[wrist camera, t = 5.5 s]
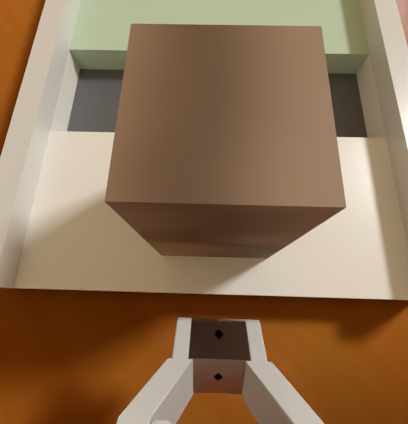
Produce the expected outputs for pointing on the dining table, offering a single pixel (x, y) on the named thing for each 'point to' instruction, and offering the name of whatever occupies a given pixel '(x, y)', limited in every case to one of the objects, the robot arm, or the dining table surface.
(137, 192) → the walnut block
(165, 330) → the dining table surface
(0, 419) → the dining table surface
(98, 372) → the dining table surface
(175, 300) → the dining table surface
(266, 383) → the robot arm
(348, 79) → the board
